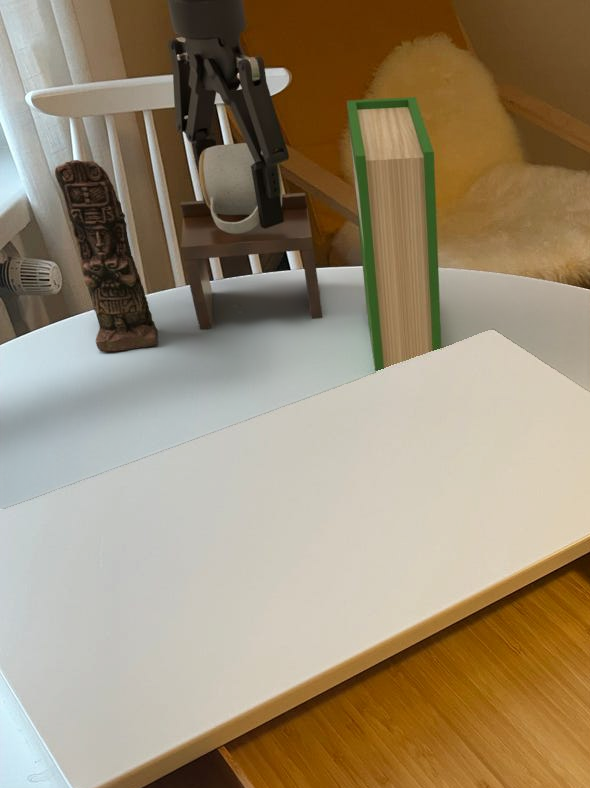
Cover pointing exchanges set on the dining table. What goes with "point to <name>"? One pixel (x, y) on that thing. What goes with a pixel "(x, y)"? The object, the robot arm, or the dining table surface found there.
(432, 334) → the hardback book
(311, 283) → the wooden step stool
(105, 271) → the statue
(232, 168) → the ceramic mug
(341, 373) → the dining table surface
